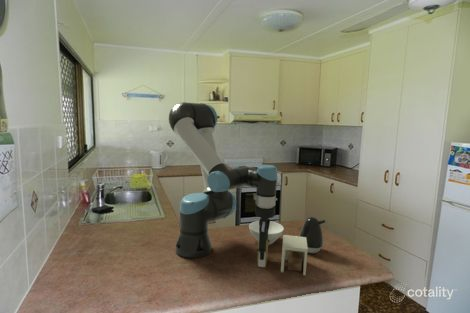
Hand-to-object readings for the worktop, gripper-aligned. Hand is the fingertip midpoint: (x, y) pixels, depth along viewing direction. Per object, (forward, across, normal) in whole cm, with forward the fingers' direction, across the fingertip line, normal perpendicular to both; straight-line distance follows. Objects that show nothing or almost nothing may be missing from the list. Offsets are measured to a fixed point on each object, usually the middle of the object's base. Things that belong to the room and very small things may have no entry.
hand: (262, 261), depth 111 cm
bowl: (+1, +20, +1) cm, 20 cm away
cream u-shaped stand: (0, 0, -12) cm, 12 cm away
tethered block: (0, 0, -6) cm, 6 cm away
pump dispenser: (+1, +16, -19) cm, 25 cm away
